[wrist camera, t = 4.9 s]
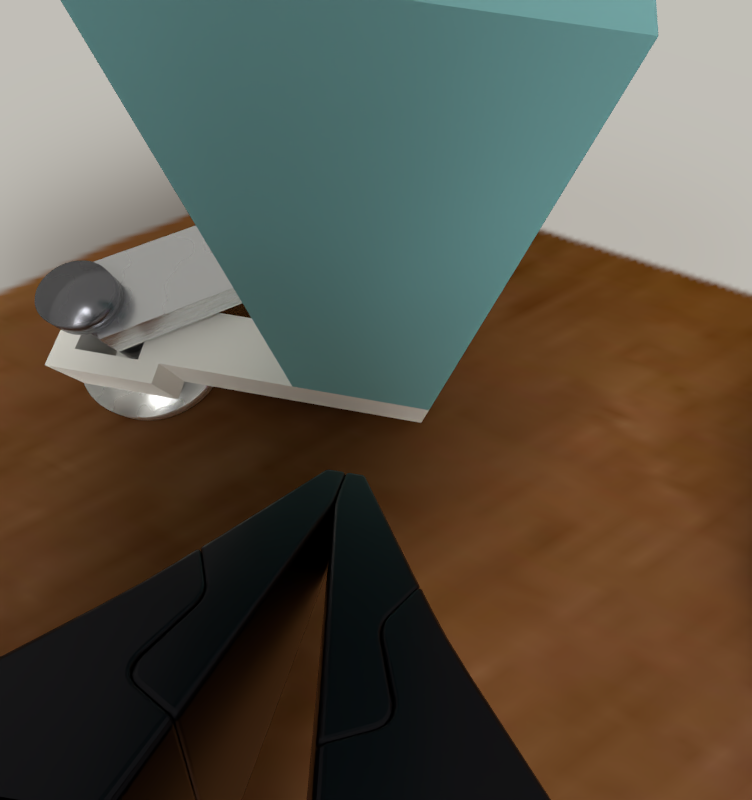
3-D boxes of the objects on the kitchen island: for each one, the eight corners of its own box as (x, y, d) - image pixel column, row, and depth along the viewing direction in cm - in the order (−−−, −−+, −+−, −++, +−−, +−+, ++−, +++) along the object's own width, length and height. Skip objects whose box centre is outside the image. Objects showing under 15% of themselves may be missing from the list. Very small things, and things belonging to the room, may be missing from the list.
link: (84, 383, 15) (-1090, -149, 3) (120, 299, 17) (-627, -340, 4) (418, 441, 15) (663, 112, 3) (431, 352, 16) (643, -177, 4)
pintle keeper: (109, 443, 16) (-8, 413, 11) (76, 326, 17) (-41, 253, 12) (314, 356, 17) (293, 293, 12) (266, 254, 18) (230, 163, 14)
